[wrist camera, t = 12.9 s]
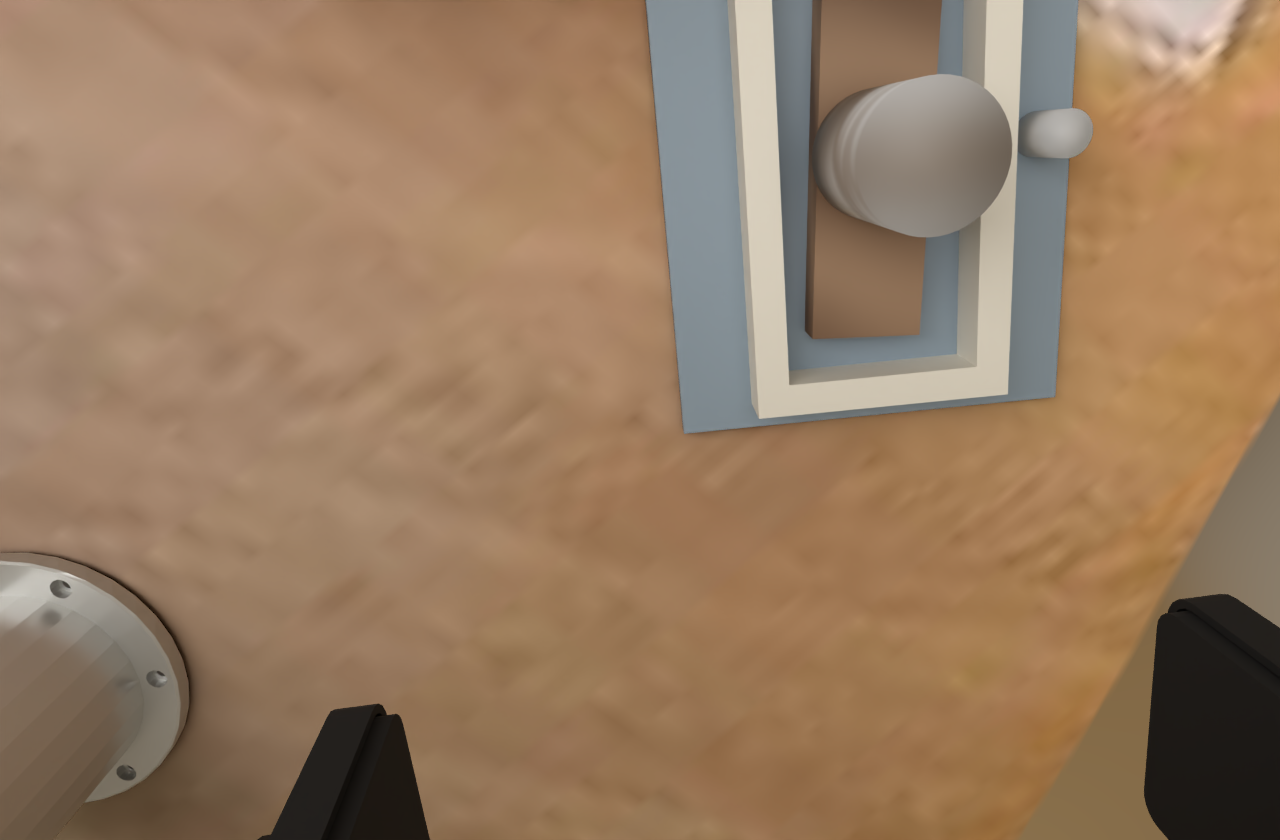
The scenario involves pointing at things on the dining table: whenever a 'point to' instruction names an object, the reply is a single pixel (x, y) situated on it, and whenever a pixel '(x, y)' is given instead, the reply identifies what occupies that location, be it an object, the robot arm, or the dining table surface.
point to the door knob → (888, 162)
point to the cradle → (777, 219)
